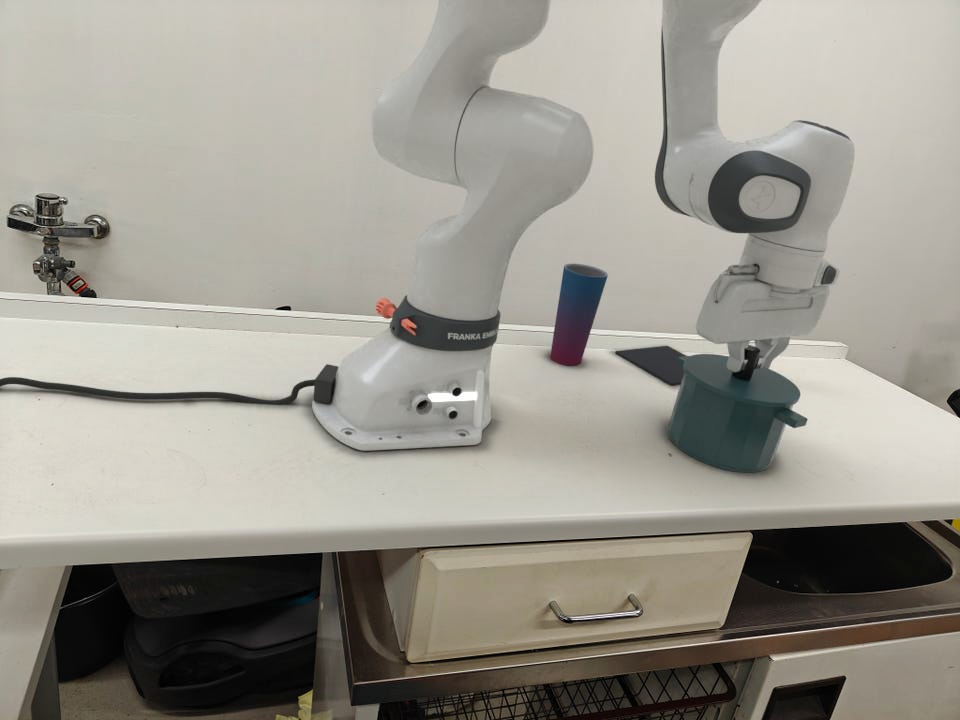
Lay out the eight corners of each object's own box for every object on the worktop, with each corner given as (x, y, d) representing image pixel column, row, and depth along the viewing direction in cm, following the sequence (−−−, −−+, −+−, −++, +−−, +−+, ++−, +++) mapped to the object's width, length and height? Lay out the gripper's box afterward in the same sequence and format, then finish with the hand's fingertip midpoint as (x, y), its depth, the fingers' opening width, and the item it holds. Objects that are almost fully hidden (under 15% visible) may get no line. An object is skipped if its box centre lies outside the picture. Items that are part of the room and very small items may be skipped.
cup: (584, 371, 112) (607, 280, 107) (542, 361, 113) (562, 270, 108) (587, 357, 119) (608, 269, 113) (547, 347, 119) (566, 260, 114)
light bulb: (781, 383, 123) (801, 328, 119) (761, 385, 120) (780, 329, 116) (756, 369, 127) (774, 316, 123) (735, 372, 124) (753, 317, 120)
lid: (749, 418, 83) (763, 377, 81) (658, 366, 94) (669, 329, 92) (820, 403, 91) (835, 366, 89) (729, 358, 102) (740, 323, 100)
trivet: (670, 385, 113) (671, 383, 113) (614, 353, 123) (615, 350, 123) (723, 377, 120) (724, 375, 120) (666, 347, 130) (667, 345, 130)
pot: (744, 492, 85) (770, 422, 82) (633, 418, 99) (650, 355, 96) (810, 473, 93) (836, 407, 89) (697, 407, 107) (716, 348, 103)
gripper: (746, 273, 79) (710, 387, 84) (848, 271, 90) (810, 372, 95) (702, 256, 83) (670, 365, 88) (804, 256, 95) (770, 353, 100)
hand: (743, 368), depth 92 cm, fingers closed on lid, 2 cm apart
